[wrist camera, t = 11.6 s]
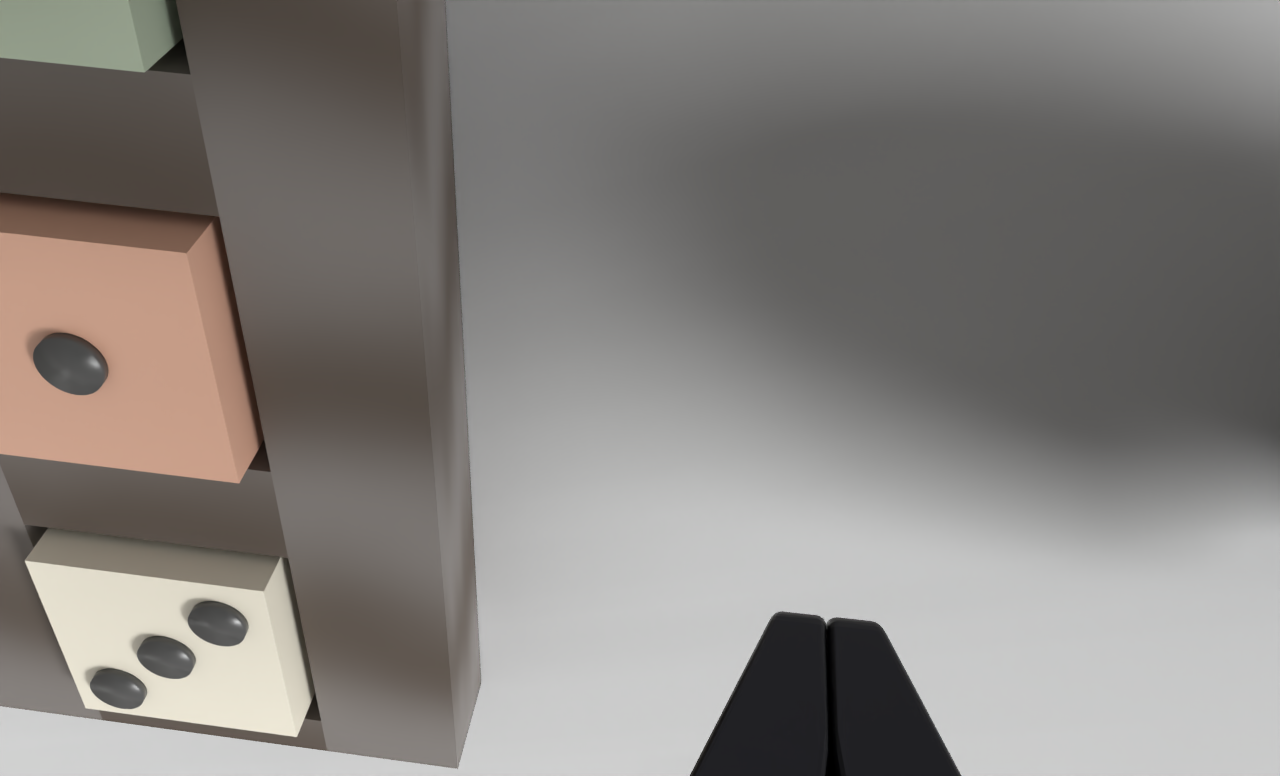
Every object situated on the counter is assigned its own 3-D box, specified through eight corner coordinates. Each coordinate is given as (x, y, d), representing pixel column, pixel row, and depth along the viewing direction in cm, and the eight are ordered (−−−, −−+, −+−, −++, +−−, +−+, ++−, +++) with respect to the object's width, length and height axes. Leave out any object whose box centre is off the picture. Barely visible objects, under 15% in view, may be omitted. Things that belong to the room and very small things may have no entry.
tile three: (99, 455, 26) (19, 568, 23) (317, 482, 26) (260, 599, 23) (147, 602, 29) (81, 715, 26) (341, 627, 29) (293, 744, 26)
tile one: (-7, 129, 21) (-125, 225, 18) (262, 158, 21) (180, 260, 18) (65, 349, 24) (-28, 458, 21) (299, 377, 24) (234, 491, 21)
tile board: (-481, -563, 15) (-673, -569, 13) (418, -497, 14) (357, -492, 12) (30, 623, 30) (-24, 702, 28) (481, 683, 29) (457, 768, 28)
